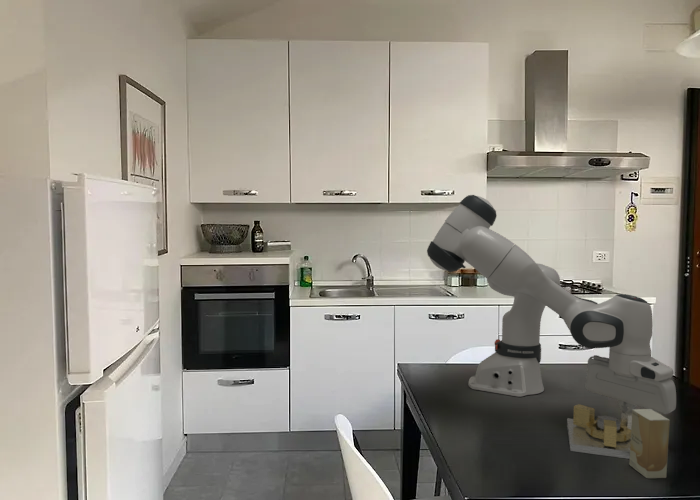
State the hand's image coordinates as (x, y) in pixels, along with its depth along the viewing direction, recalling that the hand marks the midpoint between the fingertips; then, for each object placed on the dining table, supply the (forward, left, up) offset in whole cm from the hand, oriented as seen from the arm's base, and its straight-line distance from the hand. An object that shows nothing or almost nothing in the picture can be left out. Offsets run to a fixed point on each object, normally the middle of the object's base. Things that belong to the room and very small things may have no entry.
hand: (626, 420), depth 129 cm
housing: (-4, -5, -4) cm, 8 cm away
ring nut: (-6, -5, -2) cm, 8 cm away
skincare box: (+2, -19, -4) cm, 19 cm away
